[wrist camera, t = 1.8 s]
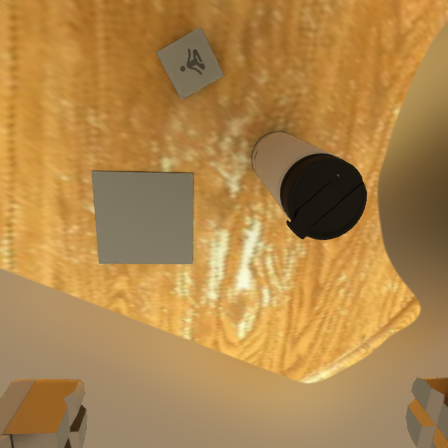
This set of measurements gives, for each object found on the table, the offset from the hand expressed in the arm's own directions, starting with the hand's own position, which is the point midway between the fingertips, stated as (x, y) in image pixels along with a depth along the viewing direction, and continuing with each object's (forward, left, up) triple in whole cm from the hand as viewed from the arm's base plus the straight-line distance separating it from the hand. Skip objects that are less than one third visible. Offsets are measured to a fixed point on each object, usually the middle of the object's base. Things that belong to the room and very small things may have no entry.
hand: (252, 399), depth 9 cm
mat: (+8, -8, -39) cm, 40 cm away
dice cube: (-10, -2, -39) cm, 40 cm away
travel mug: (0, +8, -39) cm, 40 cm away
